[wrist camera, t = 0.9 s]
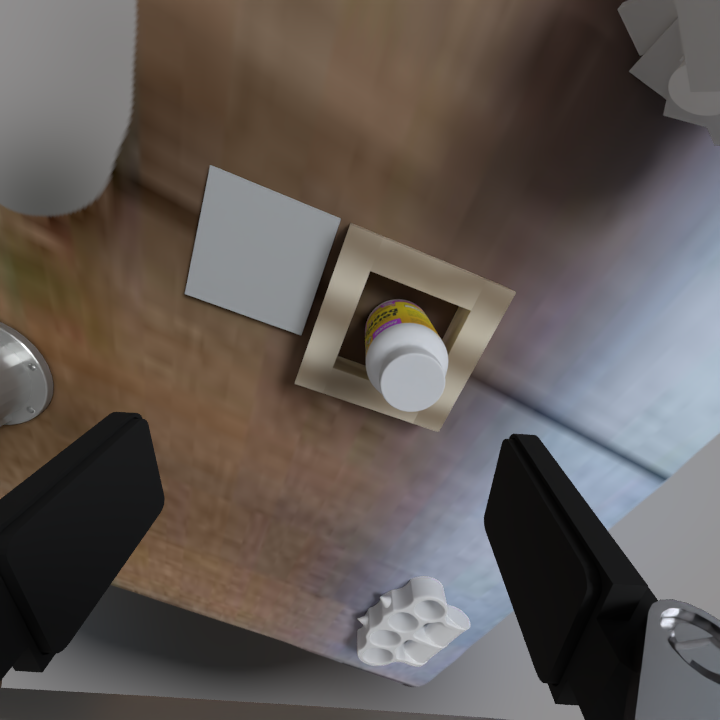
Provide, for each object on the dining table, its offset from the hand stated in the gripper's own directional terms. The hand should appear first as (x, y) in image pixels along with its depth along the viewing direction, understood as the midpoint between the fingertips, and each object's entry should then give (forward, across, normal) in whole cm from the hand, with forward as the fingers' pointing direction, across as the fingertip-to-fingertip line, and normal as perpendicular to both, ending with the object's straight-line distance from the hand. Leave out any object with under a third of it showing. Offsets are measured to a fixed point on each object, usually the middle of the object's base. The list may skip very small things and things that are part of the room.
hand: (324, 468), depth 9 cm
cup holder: (+28, -4, +5) cm, 29 cm away
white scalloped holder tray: (+28, -10, +51) cm, 59 cm away
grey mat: (+27, +9, -2) cm, 29 cm away
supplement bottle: (+28, -4, +5) cm, 29 cm away
